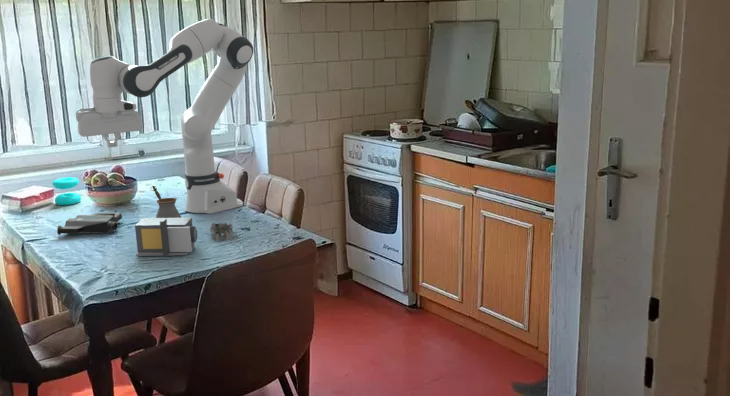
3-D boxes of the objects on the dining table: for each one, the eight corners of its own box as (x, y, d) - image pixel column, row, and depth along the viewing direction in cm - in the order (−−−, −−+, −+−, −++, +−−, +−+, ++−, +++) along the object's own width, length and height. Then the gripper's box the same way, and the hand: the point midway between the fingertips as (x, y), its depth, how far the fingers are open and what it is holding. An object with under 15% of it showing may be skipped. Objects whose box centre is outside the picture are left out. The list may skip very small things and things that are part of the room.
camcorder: (120, 233, 249) (118, 219, 247) (57, 239, 244) (55, 224, 242) (123, 221, 264) (121, 208, 263) (64, 226, 259) (62, 212, 257)
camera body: (200, 246, 232) (197, 217, 230) (192, 256, 223) (190, 226, 220) (146, 247, 233) (143, 218, 230) (136, 257, 223) (133, 226, 221)
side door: (191, 250, 224) (188, 217, 221) (188, 254, 220) (185, 221, 217) (166, 251, 224) (163, 217, 221) (163, 255, 220) (159, 221, 217)
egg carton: (232, 240, 239) (231, 228, 238) (210, 241, 238) (209, 230, 237) (234, 230, 249) (233, 219, 248) (212, 232, 248) (211, 220, 247)
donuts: (81, 179, 287) (55, 183, 281) (84, 203, 289) (58, 207, 284) (74, 175, 295) (49, 178, 289) (77, 198, 297) (52, 202, 292)
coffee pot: (191, 237, 242) (187, 194, 238) (158, 243, 236) (153, 200, 232) (172, 222, 260) (168, 182, 256) (141, 228, 254) (136, 187, 250)
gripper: (77, 109, 227) (82, 152, 231) (140, 104, 238) (145, 144, 242) (73, 107, 232) (78, 149, 236) (135, 102, 243) (139, 141, 247)
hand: (112, 146), depth 239 cm, fingers closed
